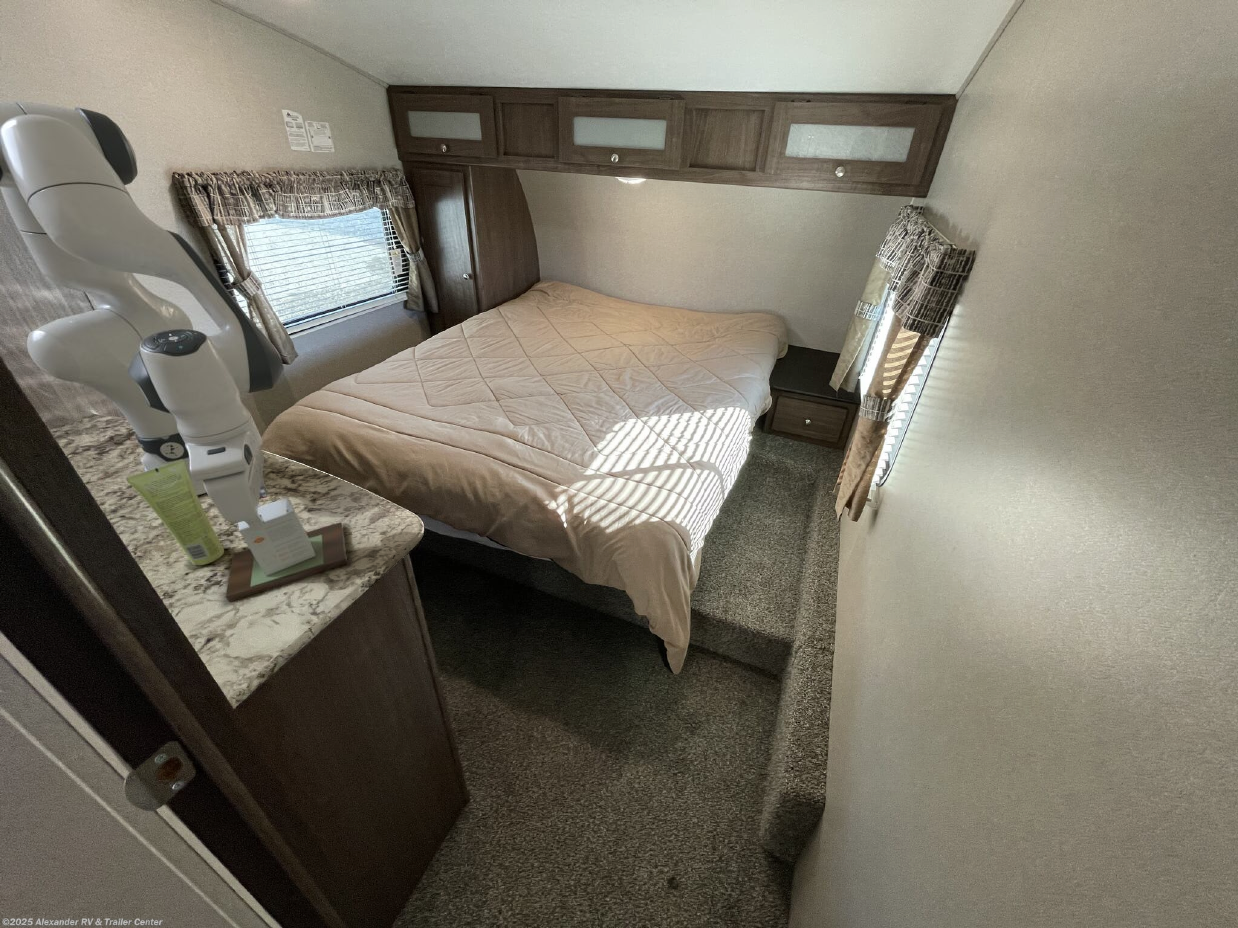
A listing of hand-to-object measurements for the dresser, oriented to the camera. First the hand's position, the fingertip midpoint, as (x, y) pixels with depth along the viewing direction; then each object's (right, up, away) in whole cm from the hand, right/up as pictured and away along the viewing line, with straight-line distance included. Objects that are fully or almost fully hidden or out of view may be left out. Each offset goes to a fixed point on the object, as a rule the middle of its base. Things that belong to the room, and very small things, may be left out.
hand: (260, 511), depth 82 cm
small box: (+1, -9, +6) cm, 11 cm away
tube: (-16, -9, +9) cm, 20 cm away
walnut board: (0, -10, +7) cm, 12 cm away
